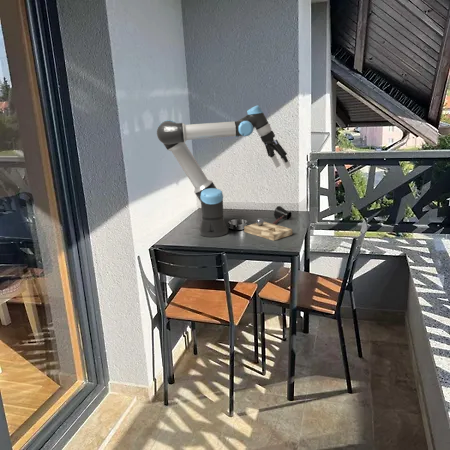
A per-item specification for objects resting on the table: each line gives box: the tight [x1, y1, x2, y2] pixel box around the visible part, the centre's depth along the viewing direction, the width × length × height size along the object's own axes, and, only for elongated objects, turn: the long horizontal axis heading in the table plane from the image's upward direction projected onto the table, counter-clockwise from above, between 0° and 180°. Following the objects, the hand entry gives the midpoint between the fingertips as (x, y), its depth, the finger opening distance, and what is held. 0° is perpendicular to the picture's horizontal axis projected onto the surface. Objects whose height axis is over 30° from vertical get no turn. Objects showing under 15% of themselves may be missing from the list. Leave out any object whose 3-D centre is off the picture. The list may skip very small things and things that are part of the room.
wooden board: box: [243, 221, 293, 241], centre depth 233 cm, size 14×22×3 cm, turn 40°
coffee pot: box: [271, 205, 292, 225], centre depth 256 cm, size 8×18×8 cm
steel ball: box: [255, 218, 265, 226], centre depth 236 cm, size 4×4×4 cm
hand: (283, 166), depth 245 cm, fingers open, 13 cm apart
